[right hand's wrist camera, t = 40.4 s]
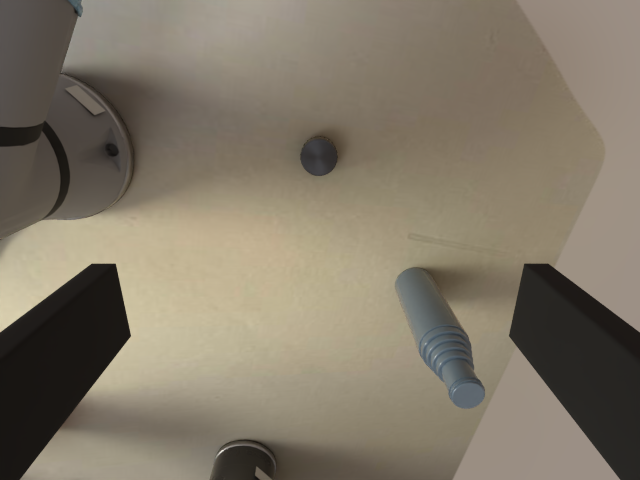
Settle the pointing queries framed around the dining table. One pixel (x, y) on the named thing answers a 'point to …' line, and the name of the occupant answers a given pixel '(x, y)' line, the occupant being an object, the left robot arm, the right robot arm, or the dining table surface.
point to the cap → (318, 156)
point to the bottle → (439, 336)
